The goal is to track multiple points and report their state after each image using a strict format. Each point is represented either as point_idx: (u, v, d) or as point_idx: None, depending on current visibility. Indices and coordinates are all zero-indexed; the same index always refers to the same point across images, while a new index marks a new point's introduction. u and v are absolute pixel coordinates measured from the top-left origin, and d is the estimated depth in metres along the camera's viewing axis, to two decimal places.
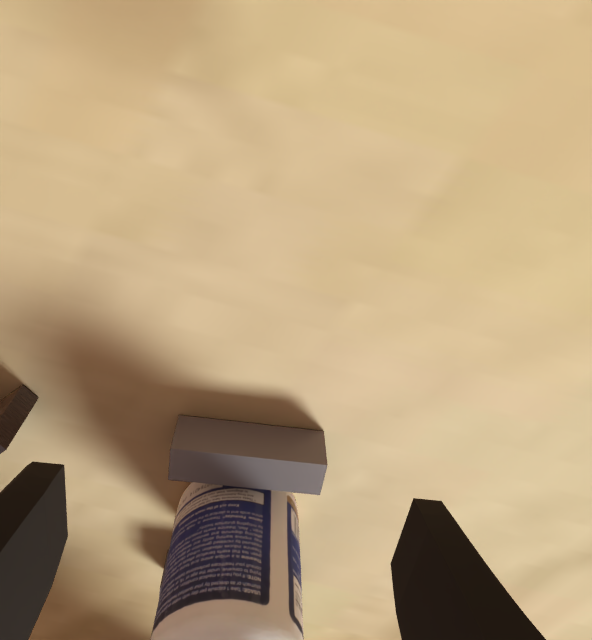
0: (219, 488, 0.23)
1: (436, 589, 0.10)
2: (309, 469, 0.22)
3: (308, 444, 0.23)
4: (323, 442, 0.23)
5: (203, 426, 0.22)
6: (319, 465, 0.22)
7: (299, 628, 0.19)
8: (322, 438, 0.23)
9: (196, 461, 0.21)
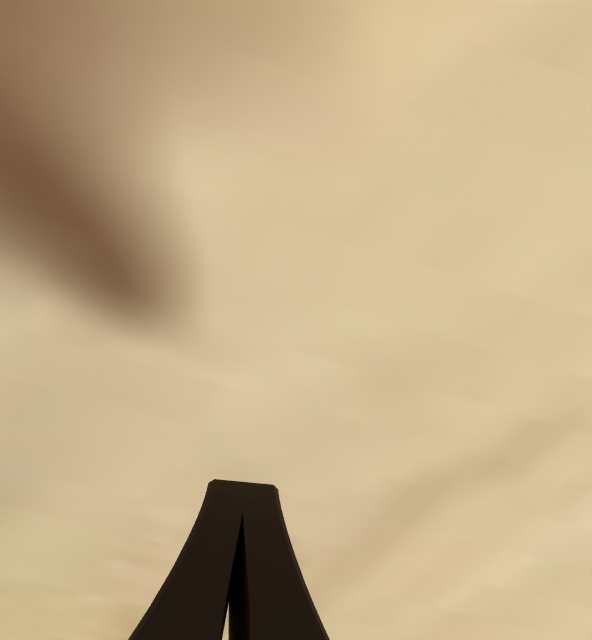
0: None
1: (240, 574, 0.10)
2: None
3: None
4: None
5: None
6: None
7: None
8: None
9: None
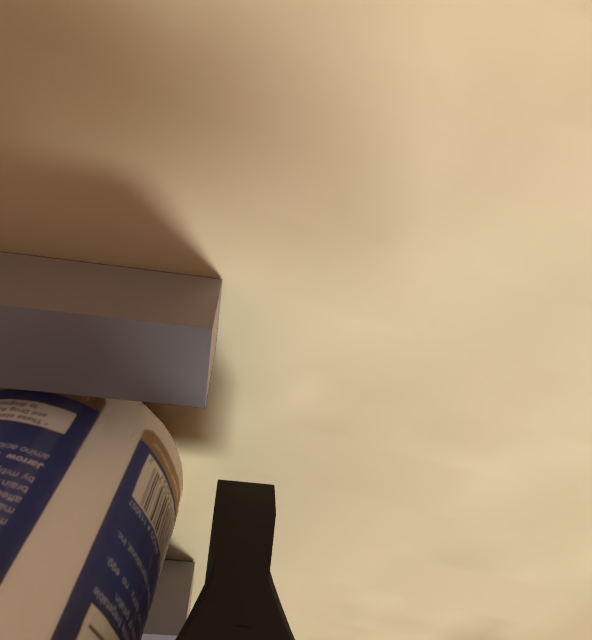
0: None
1: (210, 571, 0.10)
2: (171, 341, 0.09)
3: (179, 295, 0.10)
4: (215, 294, 0.10)
5: None
6: (194, 331, 0.09)
7: None
8: (215, 288, 0.10)
9: None
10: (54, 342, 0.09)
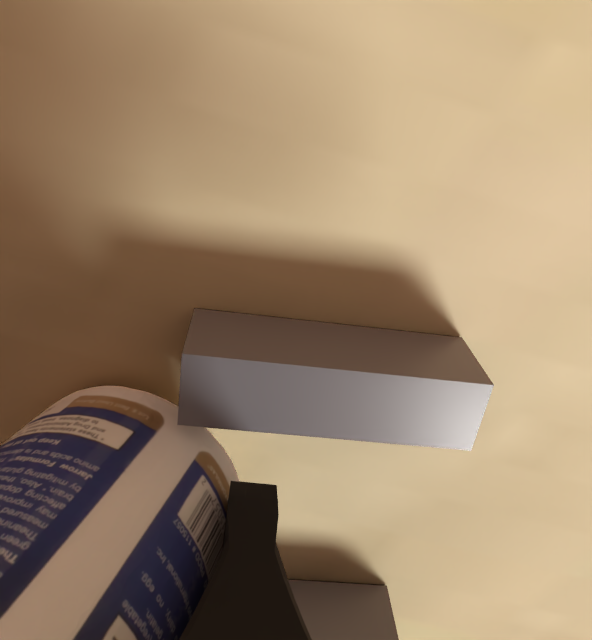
0: (53, 414, 0.11)
1: None
2: (457, 395, 0.11)
3: (444, 354, 0.12)
4: (469, 352, 0.12)
5: (242, 324, 0.12)
6: (477, 387, 0.11)
7: None
8: (464, 346, 0.12)
9: (234, 383, 0.11)
10: (361, 398, 0.11)
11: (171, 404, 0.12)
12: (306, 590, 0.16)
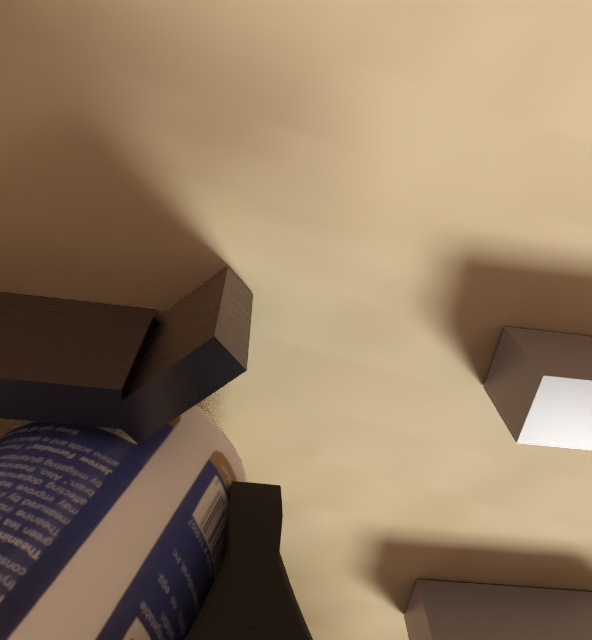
0: None
1: None
2: None
3: None
4: None
5: (561, 343, 0.12)
6: None
7: None
8: None
9: (583, 404, 0.11)
10: None
11: None
12: (544, 597, 0.16)
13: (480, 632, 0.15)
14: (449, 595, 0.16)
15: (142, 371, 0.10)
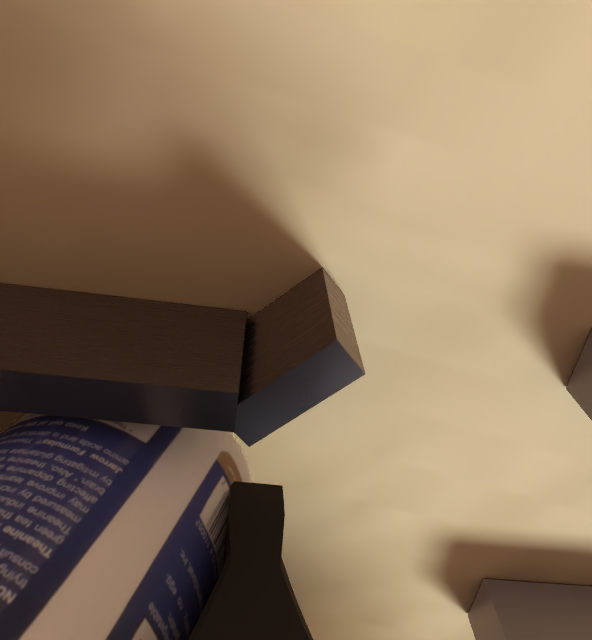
0: None
1: None
2: None
3: None
4: None
5: None
6: None
7: None
8: None
9: None
10: None
11: None
12: None
13: (552, 631, 0.15)
14: (517, 594, 0.16)
15: (252, 374, 0.10)
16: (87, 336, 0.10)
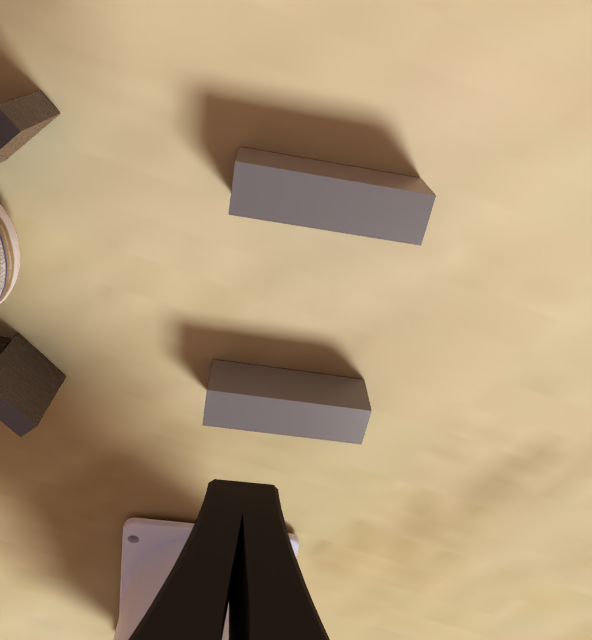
0: None
1: (240, 574, 0.10)
2: (411, 202, 0.17)
3: (406, 182, 0.18)
4: (423, 183, 0.18)
5: (272, 156, 0.17)
6: (425, 196, 0.17)
7: None
8: (421, 181, 0.18)
9: (266, 185, 0.16)
10: (349, 200, 0.17)
11: None
12: (306, 376, 0.22)
13: (246, 386, 0.20)
14: (233, 368, 0.21)
15: None
16: None
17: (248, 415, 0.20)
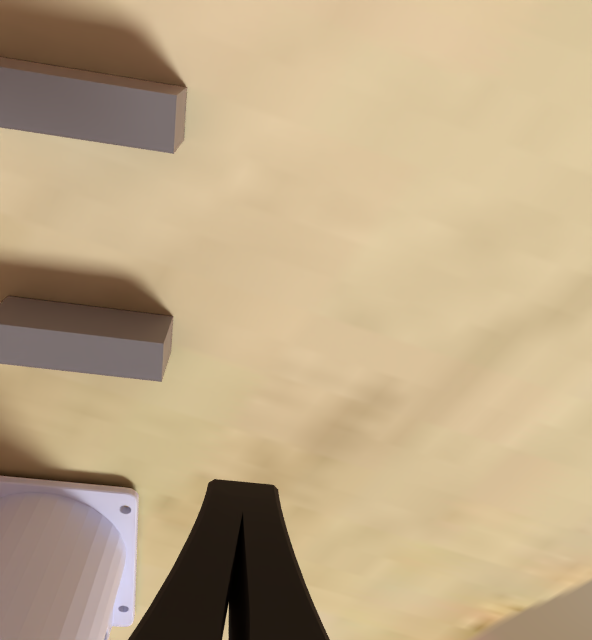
0: None
1: (241, 574, 0.10)
2: (152, 104, 0.16)
3: (158, 86, 0.16)
4: (181, 89, 0.17)
5: (14, 61, 0.16)
6: (166, 97, 0.16)
7: None
8: (181, 88, 0.17)
9: None
10: (84, 102, 0.16)
11: None
12: (106, 312, 0.21)
13: (30, 320, 0.19)
14: (26, 304, 0.20)
15: None
16: None
17: (33, 350, 0.19)
